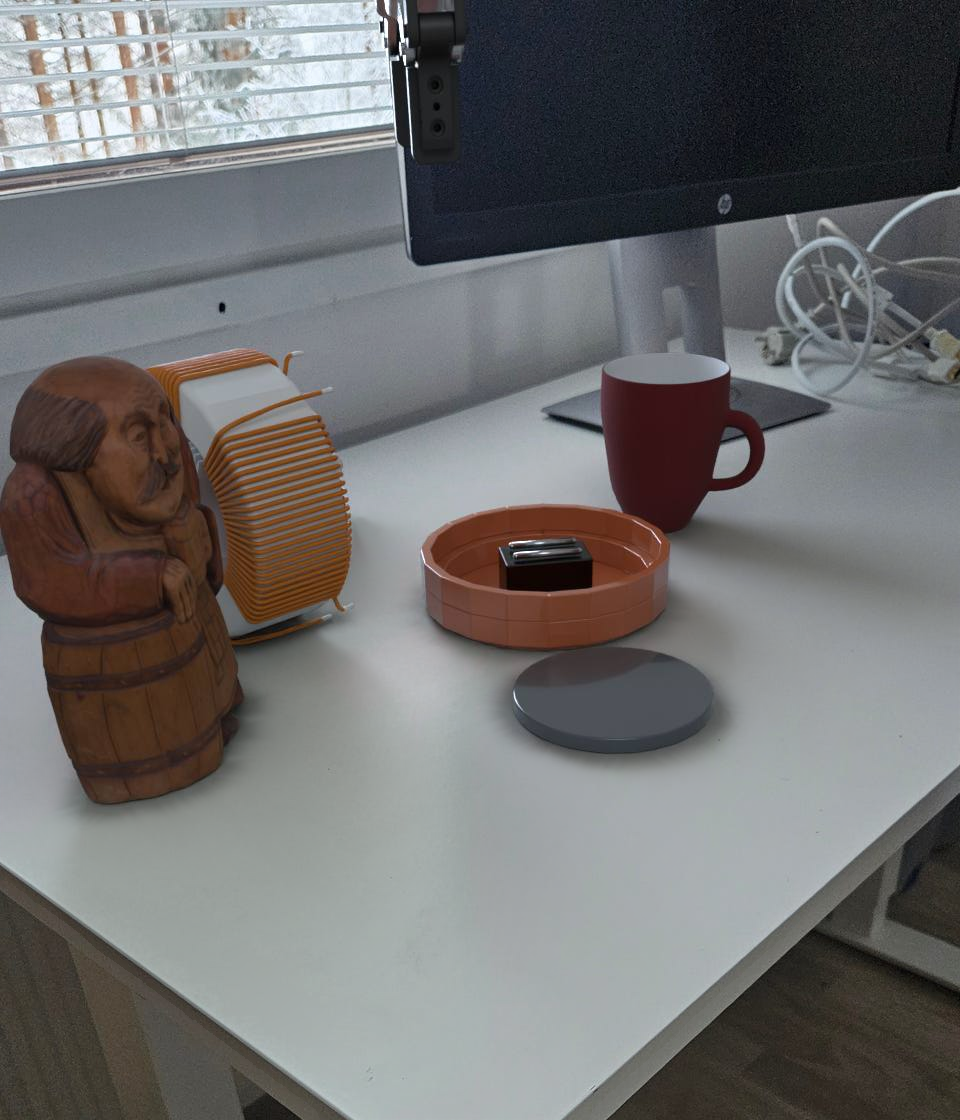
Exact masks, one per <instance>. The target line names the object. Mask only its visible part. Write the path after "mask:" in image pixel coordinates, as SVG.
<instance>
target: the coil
mask: <svg viewBox="0 0 960 1120" xmlns="http://www.w3.org/2000/svg"><path fill="white" fill-rule="evenodd" d="M304 355H305V352H304V351H303V350H297V351H293V352H289V353H287V354H286V356H285V357H284V360H283V366H282V367H283V368H282V370H281V368H279V364H278V361H277V360H276V359H275V358H273V357H272V356H271V355H268V354H266V353H264V352H262V351H260V350H256V349H252V348H242V347H240V348H234V349H229V350H225V351H220V352H215V353H210V354H204V355H200V356H195V357H190V358H186V359H182V360H175V361H172V362H167V363H162V364H157V365H153V366H149V367H147V368H143V369H144V370H146V371H148V372H149V373H151V374H152V375H153V376H154V377H155V378H156V379H157V380H158V382H159V383H160V384H161V385H162V387H163V388H164V390H165V392H166V394H167V396H168V398H169V400H170V402H171V404H172V406H173V408H174V414H175V416H176V417H177V419H178V421H179V423H180V425H181V426H182V429H183V431H184V433H185V435H186V438H187V440H188V443H189V446H190V449H191V452H192V455H193V458H194V462H195V466H196V470H197V474H198V478H199V486H200V498H201V504H203V505H206V506H207V507H209V508H210V509H211V510H212V511H213V512H214V515H215V519H216V524H217V529H218V536H219V541H220V548H221V555H222V563H223V573H224V579H223V584H222V587H221V589H220V591H219V593H218V595H217V596H216V599H217V602H218V604H219V606H220V609H221V611H222V614H223V617H224V620H225V623H226V626H227V630H228V634H229V639H230V642H231V646H242V645H251V644H254V643H259V642H263V641H266V640H271V639H273V638H277V637H282V636H284V635H287V634H290V633H293V632H296V631H300V630H302V629H305V628H308V627H311V626H314V625H317V624H319V623H321V622H325V621H327V620H330V619H333V614H332V613H329V614H326V615H323V616H320V617H317V618H315V619H312V620H308V621H306V622H303V623H300V624H297V625H293V626H291V627H288V628H286V629H282V630H280V631H279V630H278V631H276V632H272V633H267V634H263V635H258V636H253V637H248V638H247V637H246V638H242V639H237V640H234V639H236V638H240V637H242V636H245V635H248V634H251V633H254V632H256V631H259V630H262V629H265V628H269V627H270V626H274V625H277V624H279V623H283V622H285V621H288V620H291V619H293V618H297V617H299V616H302V615H304V614H305V613H309V612H312V611H314V610H318V609H320V608H321V607H322V606H323V605H325V604H326V603H327V602H328V601H329V600H332V601H333V603H334V606H335V607H336V609H337V610H338V611H339V612H347V611H349V610H352V609H354V608H355V607H356V606H355V604H354V603H350V604H347V605H344V606H341V603H340V600H339V599H338V596H339V595H340V594H341V591H342V590H343V588H344V586H345V581H346V580H347V576H348V574H349V569H350V562H351V558H352V557H351V556H352V550H351V549H352V548H353V544H352V541H353V536H352V533H353V530H352V528H351V527H352V523H353V522H352V521H351V518H352V514H351V512H349V511H350V509H351V506H350V505H349V504H348V502H349V499H350V498H349V496H347V494H348V489H347V488H346V487H343V486H345V485H346V480H345V479H341V478H343V477H344V472H343V471H342V472H337V469H339V468H341V464H339V463H338V464H335V463H334V461H336V460H338V456H339V455H338V454H337V455H338V456H337V455H333V456H332V453H335V452H336V449H337V448H336V447H335V446H331V445H332V444H333V443H334V441H333V439H332V438H328V437H330V432H329V431H328V430H327V429H326V426H327V425H326V424H325V422H323V417H322V415H320V414H316V415H314V413H313V411H314V410H313V409H312V408H311V406H310V405H309V403H308V402H307V399H311V398H315V397H319V396H323V395H327V394H331V393H334V392H335V391H334V387H333V386H330V387H326V388H322V389H318V390H315V391H310V392H307V393H303V394H302V393H301V391H300V390H299V388H298V387H297V386H296V384H295V383H294V382H292V380H291V378H289V377H288V371H289V365H290V361H291V359H293V358H298V357H302V356H304Z"/></svg>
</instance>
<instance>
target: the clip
mask: <svg viewBox="0 0 960 1120" xmlns="http://www.w3.org/2000/svg"><path fill="white" fill-rule="evenodd" d="M592 582H593V558H592V557H591V555H590V553H589V551H588V550H587V548H586V546H585V545H584V543H583V541H582V540H580V541H577V540H576V538H574V537H570V538H558V539H546V540H534V541H522V542H511V543H509V546H508V547H499V587H500V589H505V590H510V591H534V592H555V591H566V590H578V589H588V588H592Z"/></svg>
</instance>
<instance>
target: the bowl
mask: <svg viewBox="0 0 960 1120" xmlns="http://www.w3.org/2000/svg"><path fill="white" fill-rule="evenodd" d="M570 537H574V538H576V540H577V541H580V540H582V541H583V543H584V545H585V546H586V548H587V550H588V551H589V553H590V555H591V557H592V558H593V582H592V588H588V589H578V590H566V591H555V592H534V591H510V590H505V589H500V587H499V547H508V546H509V543H511V542H522V541H534V540H546V539H558V538H570ZM671 548H672V544H671V541H670V540H669V539H668V537H667V536H666V535H665V533H663V532H662V531H661V530H660V529H659V528H657V527H655V526H654V525H652V524H650V523H648V522H646V521H645V520H643V519H641V518H639V517H635V516H632V515H629V514H625V513H623V511H618V510H614V509H610V508H605V507H597V506H590V505H583V504H568V503H533V504H521V505H509V506H502V507H498V508H497V507H496V508H493V509H487V510H482V511H478V512H473V513H471V514H468V515H465V516H462V517H459V518H456V519H454V520H451V521H449V522H446V523H445V524H443V525H442V526H440V527H438V528H437V529H436V530H434V531H433V532H431V533H430V534H428V535H427V537H426V539H425V540H424V542H423V544H422V546H421V548H420V569H421V583H422V584H421V585H422V597H423V602H424V605H425V609H426V612H427V614H428V615H429V617H431V618H432V619H434V620H435V621H436V622H437V623H438V624H439V625H440V626H441V627H443V628H444V629H446V630H449V631H451V632H455V633H456V634H458V635H460V636H462V637H464V638H466V639H469V640H472V641H475V642H478V643H482V644H485V645H489V646H493V647H498V648H504V649H511V650H522V651H526V650H527V651H562V650H563V651H564V650H574V649H583V648H588V647H592V646H597V645H600V644H604V643H608V642H611V641H614V640H618V639H620V638H622V637H625V636H627V635H630V634H631V633H633V632H635V631H637V630H638V629H641V628H643V627H644V626H646V625H648V624H649V625H650V624H651V622H653V621H655V620H656V618H657V617H658V616H659V615H660V614H661V613H662V612H663V611H664V610H665V609H666V607H667V603H668V595H669V584H670V567H671V565H670V564H671V550H672V549H671Z"/></svg>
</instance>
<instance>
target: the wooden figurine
mask: <svg viewBox="0 0 960 1120" xmlns="http://www.w3.org/2000/svg"><path fill="white" fill-rule="evenodd" d="M144 369H145V368H142V367H140V366H138V365H136V364H134V363H132V362H130V361H127V360H126V359H120V358H116V357H111V356H103V355H89V356H79V357H75V358H71V359H67V360H64V361H62V362H58V363H55V364H52V365H50V366H48V367H46V368H45V369H44V370H42V371H41V372H40V373H39V374H38V376H36V378H34V380H33V381H32V382H31V384H29V385H28V386H27V388H26V389H24V392H23V394H22V395H21V397H20V398H19V401H18V402H17V404H16V407H15V409H14V410H15V411H14V414H13V418H12V421H11V425H10V431H9V432H10V434H9V457H10V459H11V460H12V461H14V462H15V465H14V467H13V469H12V470H11V472H10V473H9V474H8V476H7V477H6V478H5V481H4V483H3V487H2V491H1V494H0V534H1V539H2V542H3V545H4V549H5V554H6V557H7V561H8V566H9V572H10V575H11V582H12V587H13V591H14V594H15V596H16V597H17V598H18V599H19V600H20V601H21V603H23V605H24V606H25V607H26V608H27V609H28V610H30V611H32V612H33V613H34V614H36V616H38V618H40V619H41V620H43V624H42V627H41V633H40V645H41V655H42V656H41V657H42V668H43V671H44V677H45V681H46V682H45V683H46V690H47V695H48V698H49V701H50V705H51V707H52V708H51V709H52V711H53V714H54V718H55V722H56V725H57V728H58V732H59V735H60V739H61V741H62V744H63V747H64V749H65V752H66V754H67V757H68V759H69V760H70V761H71V766H72V768H73V769H74V770H75V773H76V776H77V779H78V781H79V783H80V785H81V787H82V789H83V792H84V794H85V795H86V796H87V797H88V799H89V800H91V801H92V802H95V803H99V804H117V803H125V802H128V801H129V802H130V801H136V800H142V799H151V798H155V797H158V796H162V795H165V794H166V793H169V792H172V791H176V790H179V789H184V788H186V787H188V786H190V785H193V784H194V783H196V782H199V780H201V779H202V778H204V777H205V776H207V775H209V774H211V773H213V772H214V771H216V770H217V768H218V767H219V766H221V764H222V763H223V757H224V747H226V746H227V745H228V744H229V743H230V741H231V737H232V736H233V735H234V734H235V733H236V732H237V731H238V730H239V720H238V718H237V717H236V716H235V715H234V714H233V713H232V712H231V711H232V709H234V708H235V707H237V706H238V705H240V704H242V703H243V702H244V700H245V694H244V690H243V686H242V685H241V684H242V683H241V682H240V678H239V664H238V661H237V657H236V656H235V655H236V654H235V652H234V648H233V645H231V642H230V639H229V634H228V630H227V626H226V623H225V620H224V617H223V614H222V611H221V609H220V606H219V604H218V602H217V599H216V596H217V595H218V593H219V591H220V589H221V587H222V584H223V579H224V573H223V563H222V555H221V548H220V541H219V536H218V529H217V524H216V519H215V515H214V512H213V511H212V510H211V509H210V508H209V507H207V506H206V505H203V504H201V498H200V486H199V478H198V474H197V470H196V466H195V462H194V458H193V455H192V452H191V449H190V446H189V443H188V440H187V438H186V435H185V433H184V431H183V429H182V426H181V425H180V423H179V421H178V419H177V417H176V416H175V414H174V408H173V406H172V404H171V402H170V400H169V398H168V396H167V394H166V392H165V390H164V388H163V387H162V385H161V384H160V383H159V382H158V380H157V379H156V378H155V377H154V376H153V375H152V374H151V373H149V372H148V371H146V370H144Z"/></svg>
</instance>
